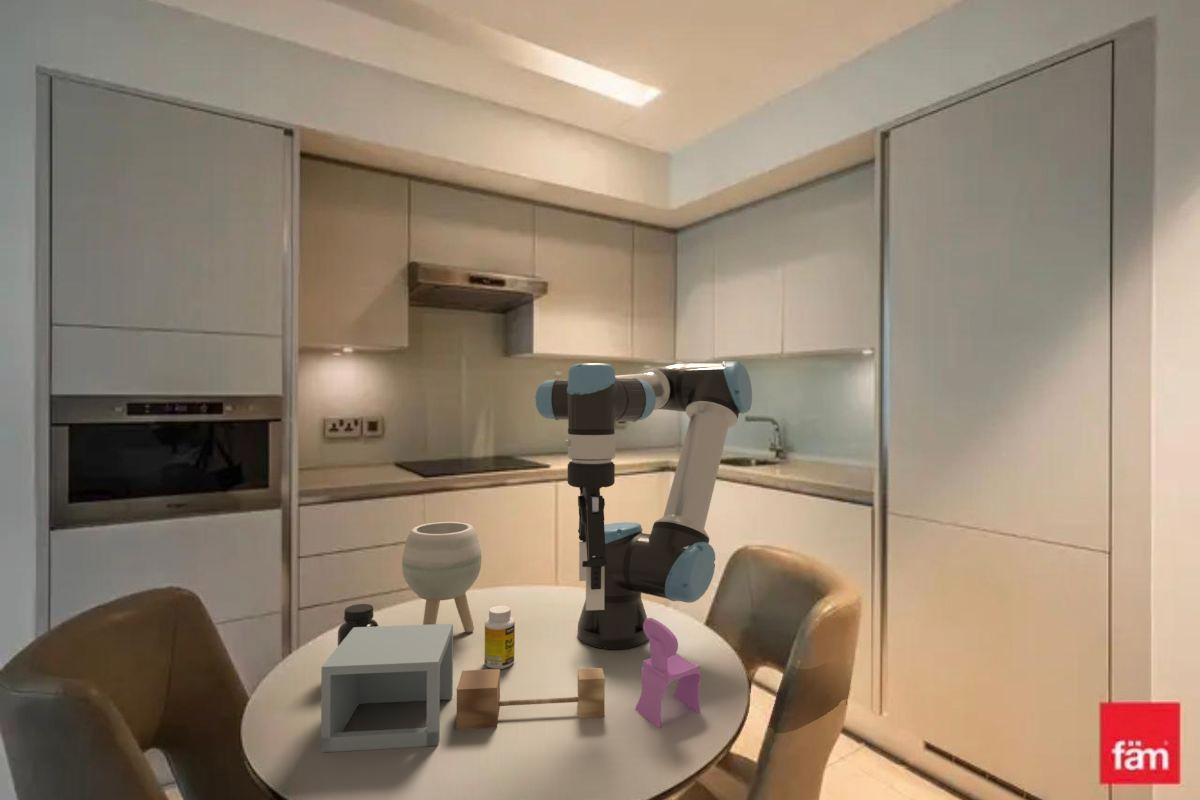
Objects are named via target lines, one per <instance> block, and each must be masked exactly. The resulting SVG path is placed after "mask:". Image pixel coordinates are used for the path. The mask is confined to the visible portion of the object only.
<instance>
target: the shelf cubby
mask: <svg viewBox="0 0 1200 800" xmlns="http://www.w3.org/2000/svg"><path fill="white" fill-rule="evenodd" d="M337 646H338V645H337ZM453 659H454V623H438V624H437V623H436V624H431V625H423V624H406V625H384V626H383V625H380V626H379V625H378V626H376V627H354V628H353V629H352V630H351V631H350V632H349V634H348V635H347V636H346V637H345V639H344V640H343V641H342V642H341V644H340V645H339V646H338V647H336V649H335V650H334V651H333V652H332V653H331V654H330V656H329V657H328V659H326V661H325V662H324V663H323V665H322V666H321V671H320V672H321V689H320V690H321V699H320V700H321V702H320V703H321V704H320V705H321V707H320V709H321V711H320V713H321V715H320V716H321V718H320V719H321V723H320V725H321V726H320V727H321V728H320V734H321V735H320V745H321V746H320V747H321V748H320V753H333V752H353V751H369V750H384V749H385V750H387V749H401V748H403V749H404V748H406V749H407V748H420V747H422V748H423V747H436V746H439V744H440V739H441V737H440V735H441V733H440V730H441V729H440V728H441V727H440V721H441V719H440V718H441V717H440V715H441V714H440V713H441V712H440V711H441V710H440V707H441V705H440V704H441V703H440V702H441V701H442V700H452V699H453V696H454V694H453V693H454V685H453V684H454V678H453V677H454V670H453V669H454V660H453ZM440 700H441V701H440ZM419 701H420V702H421V701H426V727H414V728H413V727H411V728H395V729H379V730H377V729H376V730H374V729H373V730H358V731H344V729H345V728H346V725H347V724H348V722H349V720H350V719H352V718H351V717H352V715H353V714H354V713H355V711H356V709H357V707H358V706H359V704H361V705H362V704H378V703H381V704H382V703H383V704H384V703H399V702H400V703H401V702H419Z"/></svg>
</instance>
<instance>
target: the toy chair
mask: <svg viewBox="0 0 1200 800" xmlns="http://www.w3.org/2000/svg"><path fill="white" fill-rule="evenodd" d="M643 630H644V633H645V635H646V636H647V638H648V640H649V641H648V642H649V652H650V658H648V659H644V660H643V661H642V664H643V665H642V667H641V670H640V674H641V675H640V676H641V692H640V696H639V699H638V701H637V703H636V706H635V709H634V710H635V711H636V712H638V713H639V714H640V715H641V716H643V718H645V719H647V720H648V721H649V722H651V723H652V724H653V725H654V726H656V727H657V728H658V729H660V728H662V717H661V716H662V715H661V714H662V713H661V710H662V709H661V708H662V707H661V706H662V700H663V698H664V695H665V693H666V690H667V689H668V686H669V685H670V684H671V683H673V682H676V681H677V680H678V683H677V685H676V689H675V690H674V692H673V694H672V696H673V697H674V698H676V699H678V700H679V701H680V702H682V703H683V704H684V705H686V706H687V707H689V708H690V709H692V710H694V711H695V712H697V713H701V706H700V684H701V680H702V673H701V672H700V666H699V665H698V664H696V663H694V662H692V661H690V660H688V659H686V658H684V657H683V656H681V655H680V654H679V653H677V652H678V650H679V643H678V638H677V637H676V635H675V634H674V632H673V631H671V630H670V628H669V627H667V626H666V625H665V624H663V623H662V622H660V621H659V620H657V619H656V618H655V619H654V618H652V617H647V619H646V620H645V621H644V623H643Z"/></svg>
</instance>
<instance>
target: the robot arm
mask: <svg viewBox="0 0 1200 800" xmlns="http://www.w3.org/2000/svg"><path fill="white" fill-rule="evenodd" d="M567 378H568V379H565V378H564V379H559V378H555V379H549V380H548V379H546V380H544V381H543V382H541V383H540V384H539V386H538V387H537V389H536V393H535V396H534V397H535V408H536V410H537V412H538V413H539V415H540V416H542V417H543V418H545V419H549V420H555V421H560V420H564V421H565V420H566V421H567V420H568V421H567V423H568V427H567V435H568V436H567V437H568V438H569V439H564V441H563V445H564V446H565V447H566V446H568V447H567V458H568V459H570V460H571V461H568V463H567V484H568V485H569V486H570V487H572V488H573V487H574V488H578V489H579V491H580V493H579V495H577V504H578V505H577V506H578V516H579V519H578V529H577V533H578V534H579V535H578V539H579V542H578V543H579V544H578V545H579V546H578V547H579V549H578V550H579V551H578V552H579V553H578V557H579V558H578V568H579V569H578V575H579V576H578V579H579V582H585V599H584V600H585V601H584V603H583V607H582V609H581V613H580V615H579V620H578V622H577V637H578V639H579V640H580V641H581V642H582V643H584V644H586V645H587V646H591V647H594V648H598V649H605V650H625V649H630V648H635V647H639V646H641V645H643V644H645V643H646V642H647V641H648V640H649V639H648V638H647V636H646V635H645V633H644V630H643V623H644V621H645V620H646V619H647V618H648V616H647V613H646V609H645V606H644V603H643V600H642V594H645V595H649V596H653V597H658V598H663V599H668V601H671V602H683V603H688V604H689V603H695V602H697V601H699V600H700V599H701V597H703V596H705V593H706V592H707V590H708V589H709V587H710V586H711V583H712V580H713V577H714V575H715V568H716V563H715V561H716V552H715V549H714V548H713V546H712V545H710V537H709V534H708V533H707V532H706V530H705V527H706V523H707V518H708V514H709V510H710V506H711V503H712V498H713V493H714V489H715V485H716V482H717V481H716V480H717V478H718V477H717V476H718V472H719V469H720V464H721V461H722V456H723V452H724V447H725V442H726V439H727V435H728V430H729V429H730V428H733V427H734V426H736V424H737V422H738V419H739V415H740V414H743V415H744V414H746V413H748V412H749V411H750V410H751V407H752V403H753V389H752V382H751V377H750V375H749V371H748V370H747V368H746V366H745V365H743V363H741V362H739V361H726V360H723V361H711V362H709V361H708V362H707V361H706V362H705V361H704V362H679V363H674V364H669V365H665V366H660V367H659V366H658V367H654V368H653V367H652V368H646V369H644V370H642V371H641V372H640V373H636V374H635V373H633V374H621V375H616V372H615V368H614V366H613V365H612V364H609V363H591V362H590V363H576V364H573V365H571V366H570V367H569V369H568V377H567ZM655 410H663V411H665V410H666V411H674V412H684V413H685V414H686V415H687V417H688V418H689V422H688V425H687V428H686V432H685V437H684V440H683V443H682V447H681V451H680V455H679V458H678V461H677V465H676V469H675V472H674V477H673V479H672V484H671V487H670V490H669V491H670V492H669V495H668V498H667V501H666V506H665V509H664V513H663V516H662V517H661V518H659V519H657V520H655V521H654V522H653V525H652V529H651V532H650V533H643V528H642V525H641V524H640V523H637V522H627V521H626V522H612V523H607V524H605V511H604V510H605V505H606V504H605V503H606V502H605V501H606V500H605V498H604V496H603V495H601V489H602V488H609V487H612V486H613V485H614V484H615V481H616V480H615V479H616V478H615V477H616V476H615V472H616V471H615V469H616V467H615V466H616V465H615V463H614V462H613V461H612V460H613V459H614V458H615V457H616V433H615V432H616V431H615V430H616V429H615V426H616V425H615V423H617V422H619V423H621V422H622V423H623V422H633V423H635V422H637V421H642V420H645V419H647V418H649V417H650V416H651V414H652V413H653V411H655Z"/></svg>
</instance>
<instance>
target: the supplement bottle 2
mask: <svg viewBox="0 0 1200 800" xmlns="http://www.w3.org/2000/svg"><path fill="white" fill-rule="evenodd" d="M488 611H489V613H488V618H487V619H486V620H485V622H484V665H485V666H486V667H488V668H489V669H500V670H501V669H507V668H509V667H511V666H512V665H513V664H514V662H515V644H516V643H515V642H516V641H515V632H516V631H515V626H516V625H515V624H516V621H515V618H513V617H512V616H511V615H512V612H511V611H512V610H511V607H509V606H507V605H496V606H495V605H494V606H493V607H491V608H489V610H488Z"/></svg>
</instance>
